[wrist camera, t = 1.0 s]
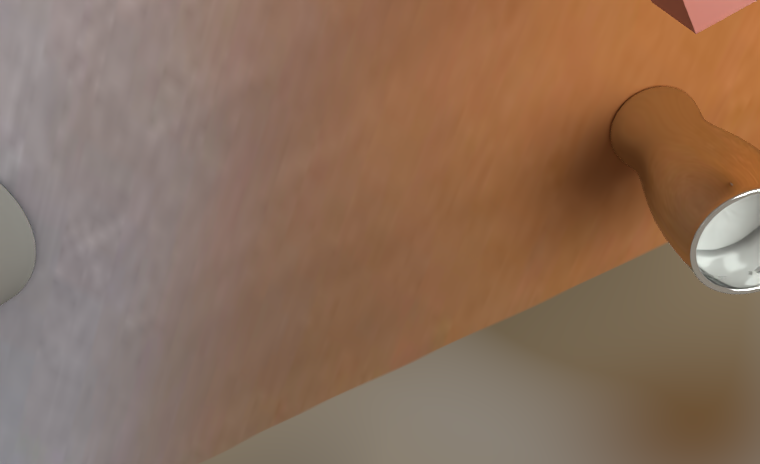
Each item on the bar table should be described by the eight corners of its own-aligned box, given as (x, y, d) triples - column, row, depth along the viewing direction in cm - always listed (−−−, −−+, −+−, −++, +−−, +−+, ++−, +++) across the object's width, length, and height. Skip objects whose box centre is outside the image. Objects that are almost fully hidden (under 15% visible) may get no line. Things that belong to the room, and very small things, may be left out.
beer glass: (587, 111, 49) (667, 224, 36) (686, 59, 47) (807, 159, 34) (624, 188, 52) (709, 317, 39) (717, 142, 50) (838, 262, 38)
